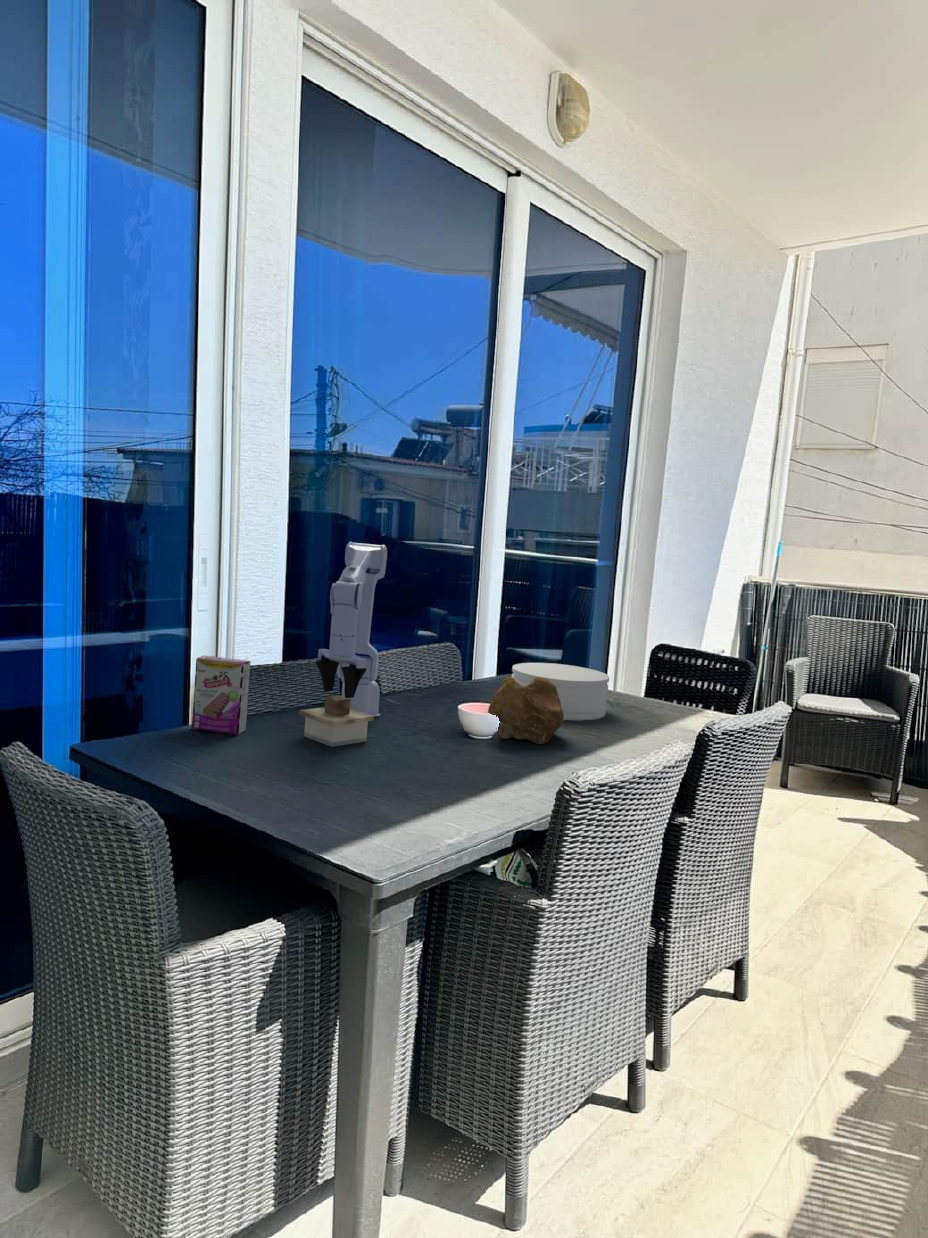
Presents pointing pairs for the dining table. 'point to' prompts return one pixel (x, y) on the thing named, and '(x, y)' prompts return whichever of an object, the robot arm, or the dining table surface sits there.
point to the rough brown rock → (527, 710)
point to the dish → (335, 732)
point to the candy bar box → (221, 694)
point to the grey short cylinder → (570, 687)
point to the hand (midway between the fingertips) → (338, 694)
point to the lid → (336, 712)
